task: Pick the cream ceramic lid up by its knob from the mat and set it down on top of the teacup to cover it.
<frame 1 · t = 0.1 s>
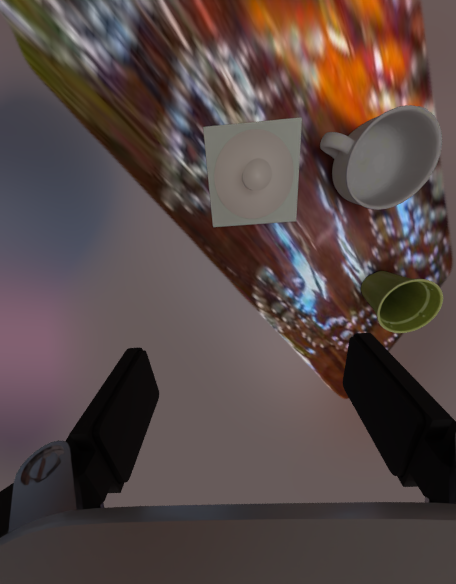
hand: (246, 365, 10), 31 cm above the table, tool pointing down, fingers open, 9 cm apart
teacup: (350, 162, 33), on the table
mat: (252, 177, 34), on the table
plant pot: (375, 285, 42), on the table
lid: (253, 177, 34), resting on mat
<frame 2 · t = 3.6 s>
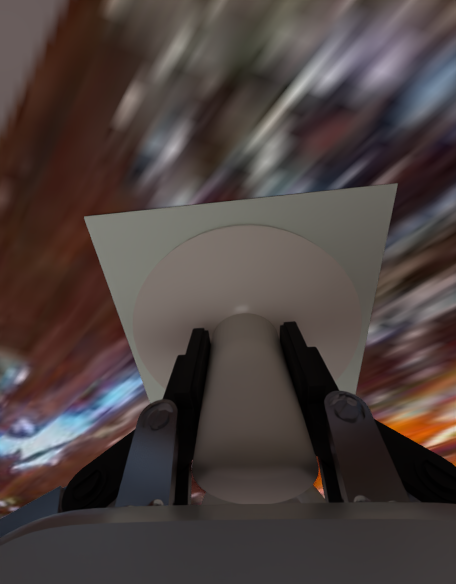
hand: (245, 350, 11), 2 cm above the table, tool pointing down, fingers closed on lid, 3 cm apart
teacup: (266, 466, 19), on the table
mat: (243, 327, 13), on the table
lid: (244, 331, 13), resting on mat, touching gripper
when the fingers open (11 cm above the table, at t = 6.9 s): lid drops 2 cm, resting on teacup.
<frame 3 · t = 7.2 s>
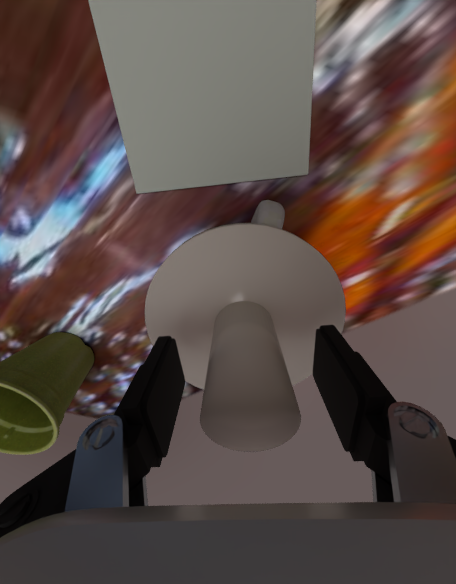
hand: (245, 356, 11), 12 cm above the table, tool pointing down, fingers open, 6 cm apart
teacup: (239, 273, 22), on the table, touching lid
mat: (209, 72, 15), on the table
plant pot: (70, 350, 26), on the table
lid: (242, 318, 14), point 8 cm above the table, touching teacup
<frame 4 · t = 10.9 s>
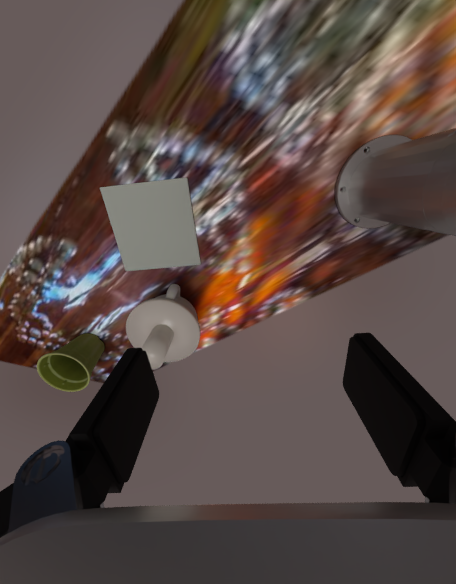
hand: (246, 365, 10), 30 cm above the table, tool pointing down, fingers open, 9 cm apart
teacup: (176, 305, 44), on the table, touching lid
mat: (154, 228, 37), on the table
plant pot: (91, 343, 48), on the table
lid: (164, 330, 37), point 8 cm above the table, touching teacup
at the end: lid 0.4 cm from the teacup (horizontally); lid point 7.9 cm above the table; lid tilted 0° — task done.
